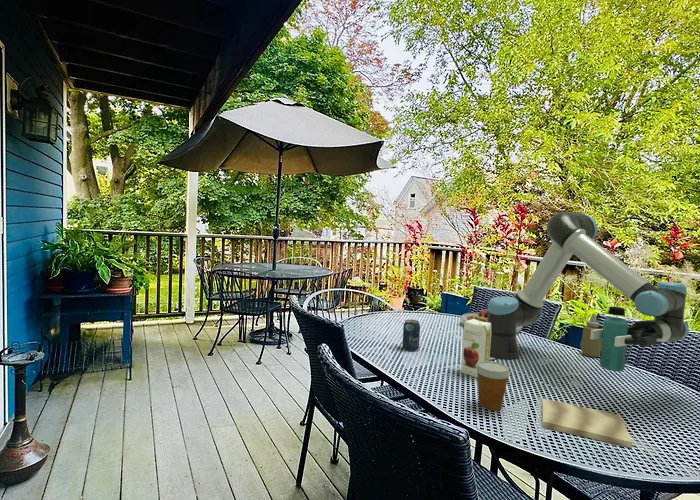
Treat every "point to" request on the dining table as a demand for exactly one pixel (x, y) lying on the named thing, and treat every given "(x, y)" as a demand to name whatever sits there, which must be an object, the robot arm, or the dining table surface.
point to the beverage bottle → (613, 341)
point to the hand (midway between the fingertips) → (603, 338)
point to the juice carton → (475, 345)
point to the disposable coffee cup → (492, 384)
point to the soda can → (411, 335)
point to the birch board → (585, 422)
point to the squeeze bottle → (590, 345)
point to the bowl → (480, 317)
